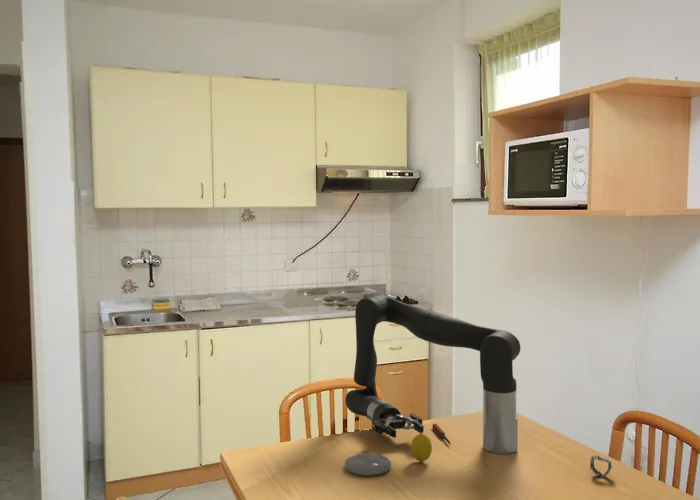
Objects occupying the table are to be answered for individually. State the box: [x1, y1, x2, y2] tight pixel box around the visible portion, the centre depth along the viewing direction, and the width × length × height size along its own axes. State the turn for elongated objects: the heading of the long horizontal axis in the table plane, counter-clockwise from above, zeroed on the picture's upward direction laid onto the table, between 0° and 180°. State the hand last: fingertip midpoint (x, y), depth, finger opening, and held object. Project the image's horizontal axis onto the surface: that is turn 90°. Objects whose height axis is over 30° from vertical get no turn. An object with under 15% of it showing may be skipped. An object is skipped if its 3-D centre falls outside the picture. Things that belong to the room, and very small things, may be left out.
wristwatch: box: [589, 455, 612, 479], centre depth 157 cm, size 3×5×5 cm, turn 55°
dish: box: [344, 453, 392, 477], centre depth 165 cm, size 12×12×2 cm
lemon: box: [410, 433, 433, 464], centre depth 168 cm, size 6×6×8 cm
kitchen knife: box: [431, 423, 451, 446], centre depth 186 cm, size 16×1×2 cm, turn 9°
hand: (408, 431), depth 174 cm, fingers open, 8 cm apart
